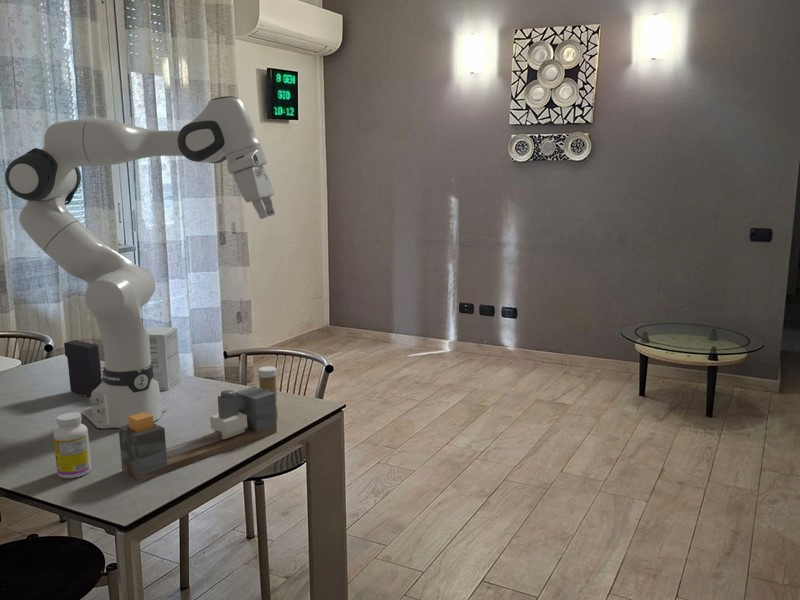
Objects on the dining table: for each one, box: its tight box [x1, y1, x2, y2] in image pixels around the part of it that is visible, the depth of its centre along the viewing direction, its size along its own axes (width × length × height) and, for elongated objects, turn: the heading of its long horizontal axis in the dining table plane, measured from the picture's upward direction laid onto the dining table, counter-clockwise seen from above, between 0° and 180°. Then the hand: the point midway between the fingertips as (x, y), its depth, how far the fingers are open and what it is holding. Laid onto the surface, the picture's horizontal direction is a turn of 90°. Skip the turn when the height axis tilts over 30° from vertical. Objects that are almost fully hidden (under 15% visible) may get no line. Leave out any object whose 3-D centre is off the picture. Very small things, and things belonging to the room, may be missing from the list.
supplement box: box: [145, 326, 182, 391], centre depth 210 cm, size 10×9×17 cm
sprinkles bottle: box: [257, 365, 279, 420], centre depth 182 cm, size 5×5×13 cm
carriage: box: [209, 389, 247, 439], centre depth 167 cm, size 6×6×10 cm
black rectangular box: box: [63, 339, 103, 398], centre depth 202 cm, size 11×4×15 cm, turn 58°
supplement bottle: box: [52, 411, 92, 479], centre depth 150 cm, size 7×7×13 cm
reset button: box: [128, 412, 155, 433], centre depth 150 cm, size 4×4×5 cm
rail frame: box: [118, 386, 278, 482], centre depth 162 cm, size 8×36×10 cm, turn 139°
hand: (268, 216), depth 173 cm, fingers open, 8 cm apart
